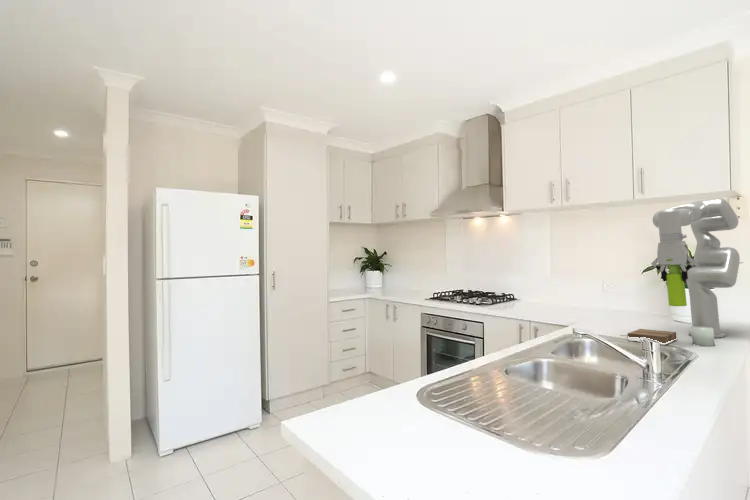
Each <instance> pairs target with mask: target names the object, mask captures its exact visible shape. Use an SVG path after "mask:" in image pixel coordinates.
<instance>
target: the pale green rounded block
mask: <svg viewBox="0 0 750 500" xmlns="http://www.w3.org/2000/svg"><path fill="white" fill-rule="evenodd" d="M690 331H692V335H691V341H692V345H694V344H695V345H694V346H697V345H699V346H698V347H715V345H716V344H715V338H714V331H713V328H711V327H702V326H694V327H692V326H691V327H690Z"/></svg>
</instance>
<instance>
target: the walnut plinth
mask: <svg viewBox="0 0 750 500" xmlns="http://www.w3.org/2000/svg"><path fill="white" fill-rule="evenodd" d="M628 336H629V337H639V338H640V337H646V338H650V339H653V340H657V341H659V342H662V343H666V342H668V341H671V340H674V339H676V338H677V332H676V331H665V330H658V329H655V330H654V329H644V328H643V329H642V328H639V329H636V330H633V331H630V332H628V333H627V337H628ZM677 339H678V338H677Z"/></svg>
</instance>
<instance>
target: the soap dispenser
mask: <svg viewBox="0 0 750 500" xmlns="http://www.w3.org/2000/svg"><path fill="white" fill-rule="evenodd" d="M666 261H672V259H666ZM668 272H669V273H667V275H666V280H667V281H666V289H667V299H668V306H670V307H687V306H688V303H687V296H686V295H687V294H686V293H687V292H686V286H685V281H682V273H680V265H668Z"/></svg>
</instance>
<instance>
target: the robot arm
mask: <svg viewBox="0 0 750 500" xmlns="http://www.w3.org/2000/svg"><path fill="white" fill-rule="evenodd" d="M652 223H653V225H654V226H655V228H657V229H658V233H659V242H658V243H657V249H656V251H657V252H656V253H657V255H656V258H655V259H654V260H653V261H652V262H651V263H650V264H651V266H653V267H654V268H655V269H656V270H658V271H659V272H660V274H661V280H662V282H667V280H666V275H667V274H668V272H667V271H666V269H667V268H668V266H671V265H677V266H679V267H680V269H681V270H682V271H681V274H682V281H684V282H686V285H687V289H688V294H689V306H690V315H691V316H690V317H691V327H694V326H702V327H711V328H713V331H714V339H716V338H718V339H720V338H725V337H726V333H724V332H722V331H721V327H720V319H719V317H720V316H719V308H718V307H719V306H718V298H717V295H716V294H715V293H714V291H713V290H711V288H716V289H717V288H719V289H721V288H724V289H725V288H726V289H727V288H728V289H729V288H732V287H734V286H735V285H736V283H737V279H738V274H739V267H740V261H741V259H740V254H739V251H738V250H737V249H736V248H734V247H729V246H728V247H727V246H725V247H723V246H722V247H721V241H720V239H719V238H717V237H716V236H715V235H714V234H712V233H711V232H722V231H723V232H724V231H730V230H731V231H732V230H734V229H736V228H737V227H738V225H739V218H738V215H737V214H736V212H735V211H734V209H733V208H732V206H731V204H730V203H729V202H728V201H727V200H726V199H724V198H722V197H716V198H711V199H710V198H709V199H700V200H695V201H692V202H689V203H685V204H683V205H678V206H675V207H674V206H673V207H671V208H667V209H663V210H662V209H661V210H659V211H656V212H655V213H654V215H653V216H652ZM686 226H690V227H691V228H690V229H691V231H692V234H693V235H694V237H695V238H694V239H695V240H696V246H695V250H694V255H693V258H692V257H691V256H690V255H689V249H688V246H687V243H686V240H684V239H686V238H688V237H687V234H683V233H682V232H683V231H682V227H686ZM666 259H672V261H666ZM689 334H690V335H689ZM688 335H689V336H692V331H691V330H689V331H688Z"/></svg>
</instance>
